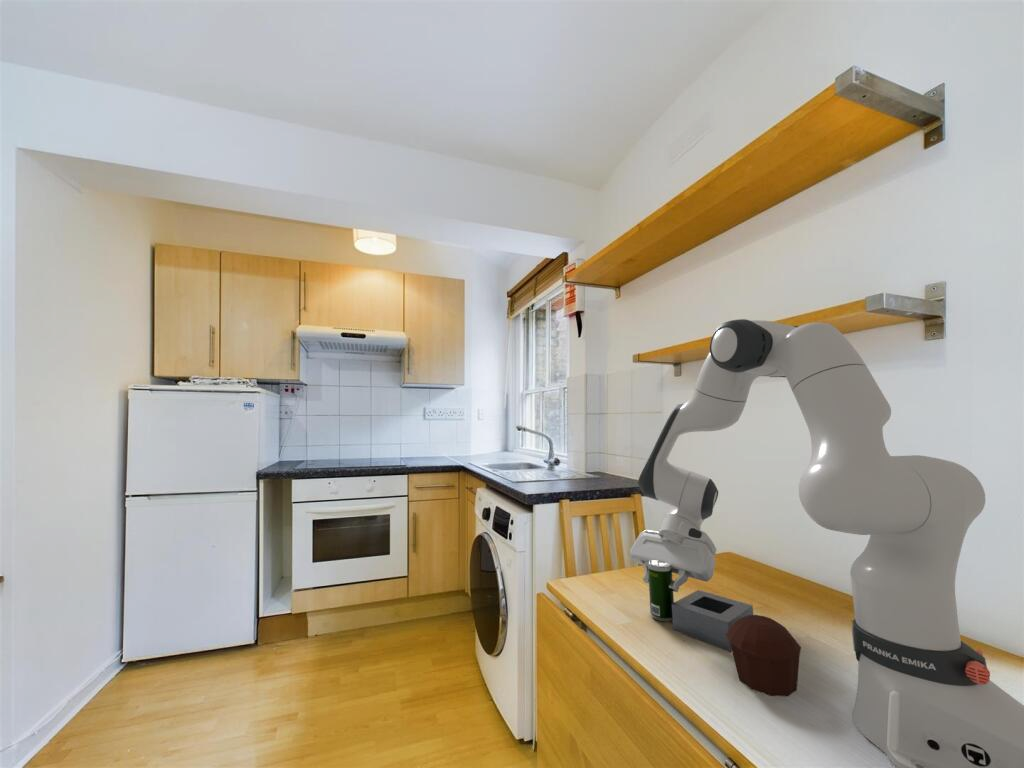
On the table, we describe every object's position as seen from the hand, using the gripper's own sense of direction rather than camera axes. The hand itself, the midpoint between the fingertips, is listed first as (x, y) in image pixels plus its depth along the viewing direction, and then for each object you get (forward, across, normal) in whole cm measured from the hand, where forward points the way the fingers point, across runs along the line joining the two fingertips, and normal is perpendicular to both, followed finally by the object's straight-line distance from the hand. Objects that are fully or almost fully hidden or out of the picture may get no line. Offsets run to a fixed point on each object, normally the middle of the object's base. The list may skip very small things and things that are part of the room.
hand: (659, 586), depth 97 cm
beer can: (+5, 0, +6) cm, 7 cm away
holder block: (+3, +11, +7) cm, 13 cm away
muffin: (+11, +25, 0) cm, 27 cm away
